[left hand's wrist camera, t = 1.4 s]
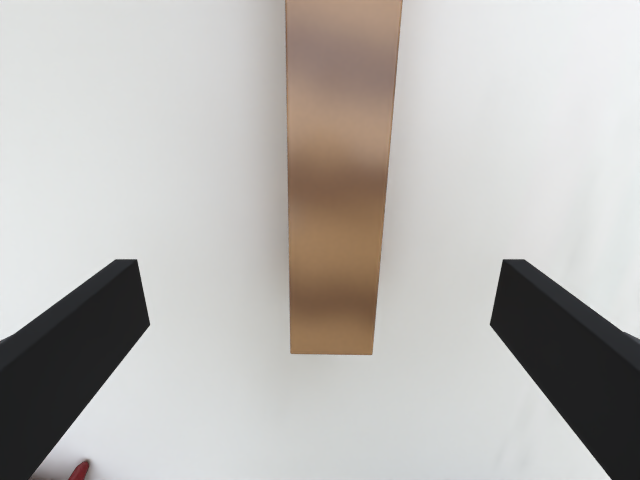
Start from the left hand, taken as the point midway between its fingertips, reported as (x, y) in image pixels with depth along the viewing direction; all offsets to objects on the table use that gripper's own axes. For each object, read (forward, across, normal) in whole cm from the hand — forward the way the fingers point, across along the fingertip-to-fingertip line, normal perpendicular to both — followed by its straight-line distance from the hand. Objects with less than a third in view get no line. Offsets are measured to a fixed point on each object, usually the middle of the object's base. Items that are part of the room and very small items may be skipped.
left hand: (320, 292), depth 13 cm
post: (+13, -1, -26) cm, 29 cm away
